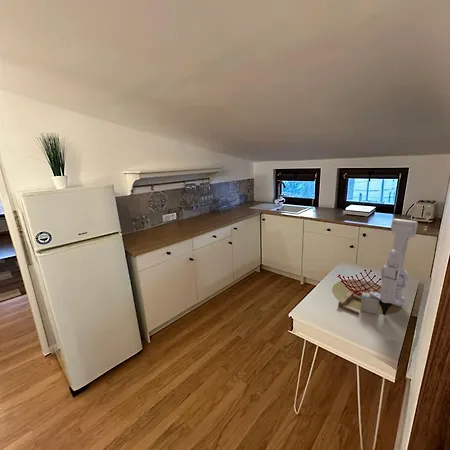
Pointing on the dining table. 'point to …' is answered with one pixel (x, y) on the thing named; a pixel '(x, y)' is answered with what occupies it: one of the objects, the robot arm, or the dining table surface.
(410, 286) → the dining table surface
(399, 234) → the robot arm
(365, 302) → the medicine box
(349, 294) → the end stop
